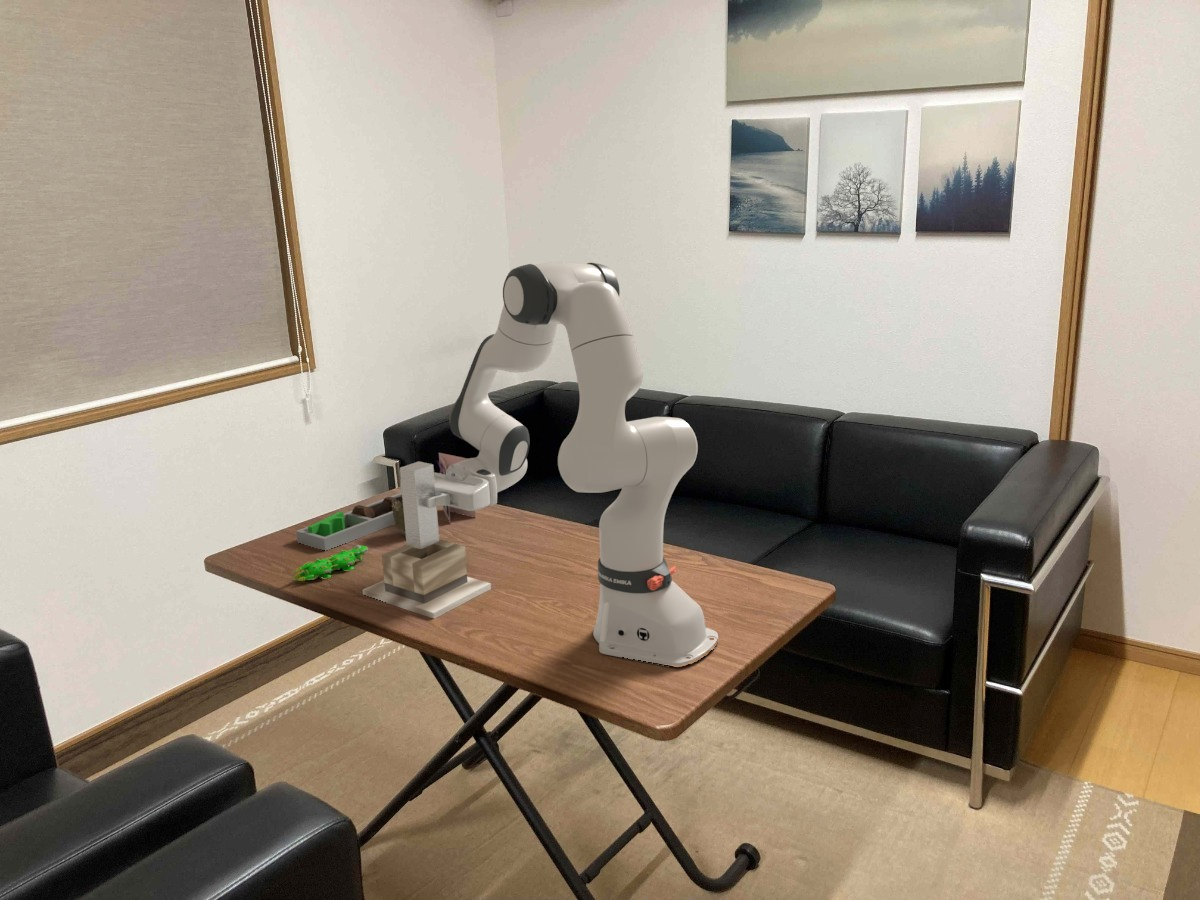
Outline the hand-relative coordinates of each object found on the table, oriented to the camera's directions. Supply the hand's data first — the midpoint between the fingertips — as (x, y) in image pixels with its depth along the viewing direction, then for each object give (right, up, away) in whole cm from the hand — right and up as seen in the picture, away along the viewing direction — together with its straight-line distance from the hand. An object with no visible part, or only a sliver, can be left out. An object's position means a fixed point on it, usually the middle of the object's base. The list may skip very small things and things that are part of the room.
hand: (416, 501), depth 182 cm
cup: (-9, -10, +37) cm, 40 cm away
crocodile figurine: (-21, -16, +18) cm, 32 cm away
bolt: (-18, -7, +50) cm, 54 cm away
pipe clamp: (-27, -11, +38) cm, 48 cm away
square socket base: (+1, -18, +6) cm, 19 cm away
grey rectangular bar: (+1, -8, +3) cm, 9 cm away
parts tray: (-21, -8, +45) cm, 50 cm away
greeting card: (+1, -6, +50) cm, 50 cm away
